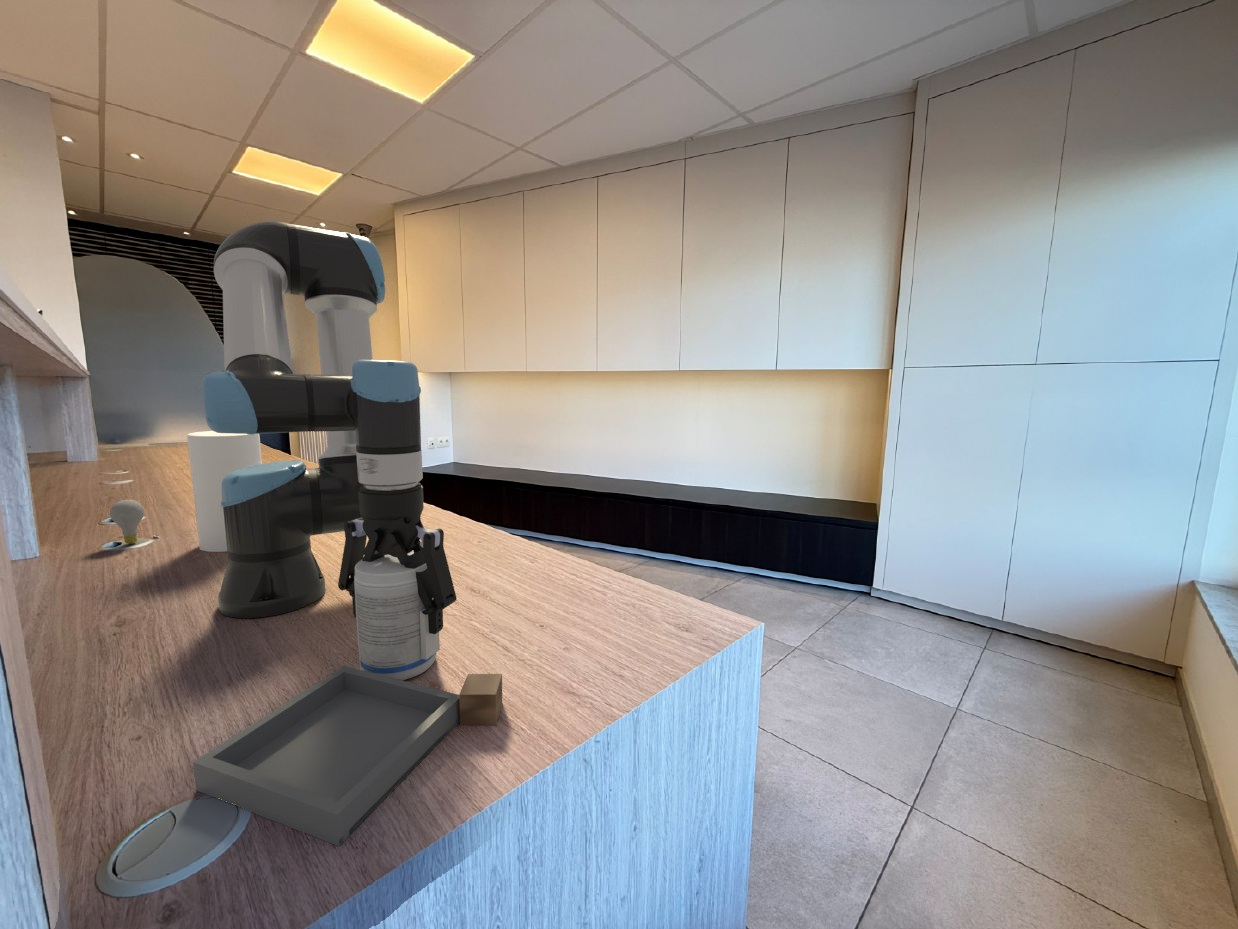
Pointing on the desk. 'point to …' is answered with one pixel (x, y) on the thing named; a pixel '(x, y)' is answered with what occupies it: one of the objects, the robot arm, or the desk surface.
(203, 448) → the cylinder
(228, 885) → the desk surface
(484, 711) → the walnut block
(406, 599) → the supplement tub
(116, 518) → the light bulb
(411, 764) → the tray
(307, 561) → the robot arm
